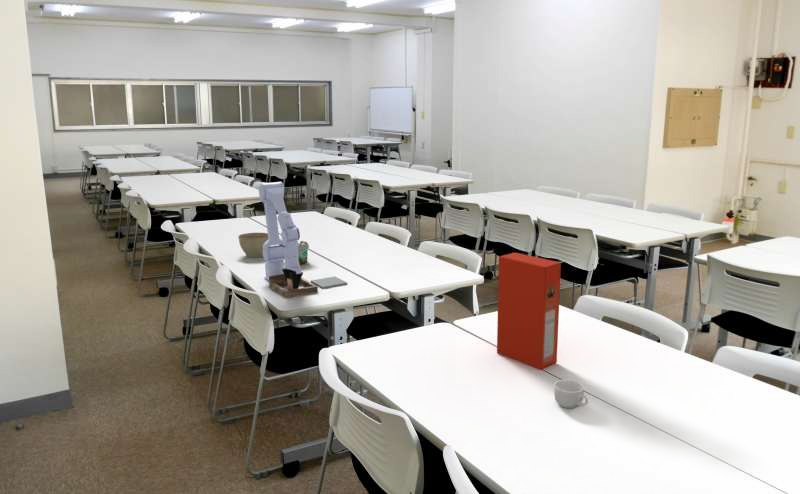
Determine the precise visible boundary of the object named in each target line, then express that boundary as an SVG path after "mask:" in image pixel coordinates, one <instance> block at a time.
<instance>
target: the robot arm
mask: <svg viewBox="0 0 800 494" xmlns="http://www.w3.org/2000/svg"><path fill="white" fill-rule="evenodd" d="M258 187H259V188H258V194H259V201H260V203H261V202H262V203H263V207H264V215H265V222H266V229H267V230H266V231H267V232H266V233H268V240H267V241H266V242H265V243H264V244H263V256H262V257H263V259H264V260H265V264H264V265H265V276H263V278H264V279H265V280H267V281H268V282H269V276H272V275H279V274H284V275H285V278H286V281H287V278H289V277H291V279H292V284H293V288H294V289H296V288H299V289H300V285H301V284H300V279H301V277H302V278H303V275H304V272H303V271H302V268H301V267H300V266H301V265H299V259H298V244H299V241H300V238H301V233H300V230H299V228H298V226H297V225H296V224H294V221H293V218H292V215H291V213H290V212H288V211H287V209H286V204H285V200H284V196H285V185H284V183H283V182H282V181H276V182H275V181H274V182H265V183H263V182H262V183H260V185H259V186H258ZM277 214H278V215H277ZM279 226H280V230H281V234H280V233H279ZM280 235H281V236H280ZM280 237H281V238H280Z"/></svg>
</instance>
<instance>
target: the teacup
mask: <svg viewBox="0 0 800 494" xmlns="http://www.w3.org/2000/svg"><path fill="white" fill-rule="evenodd" d="M553 393H554V394H553V395H554V400H555V402H556V403H557V404H558V405H559V406H561V407H562V408H565V409H575V408H578V407H579V406H586V405H588V404H589V399H588V397H587V396H586V395H584V393H585V385H583V384H582V383H581V382H579V381H576V380H572V379H560V380H559V379H558V380H556V381H555V382H554V383H553ZM583 400H585V403H583Z"/></svg>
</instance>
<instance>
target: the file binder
mask: <svg viewBox="0 0 800 494" xmlns="http://www.w3.org/2000/svg"><path fill="white" fill-rule="evenodd" d="M561 268H562V263H561V262H559V261H555V260H550V259H546V258H542V257H537V256H533V255H529V254H524V253H519V252H512V253H508V254H504V255H500V256H498V277H497V279H498V281H497V285H498V287H497V327H496V328H497V331H496V332H497V333H496V334H497V337H496V338H497V340H496V354H498V355H500V356H503V357H506V358H508V359H510V360H513V361H515V362H517V363H522V364H525V365H527V366H529V367H533V368H534V369H537V370H540V371H543V370H545V369H547V368H550V367H551V366H554V365H556V363H557V362H558V344H559V343H558V342H559V341H558V339H559V315H560V314H559V313H560V296H561V295H560V294H561V274H562V273H561V271H562V269H561Z"/></svg>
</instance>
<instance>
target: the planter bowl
mask: <svg viewBox="0 0 800 494" xmlns="http://www.w3.org/2000/svg"><path fill="white" fill-rule="evenodd" d="M238 240H239V241H238V242H239V245H240V249H241V250H242V251H243V253H244V254H245V256H246V257H247V258H261V257H263V244H264V243H265V242H266V241H267V240H268V232H248V233H241V234H239V235H238Z"/></svg>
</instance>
